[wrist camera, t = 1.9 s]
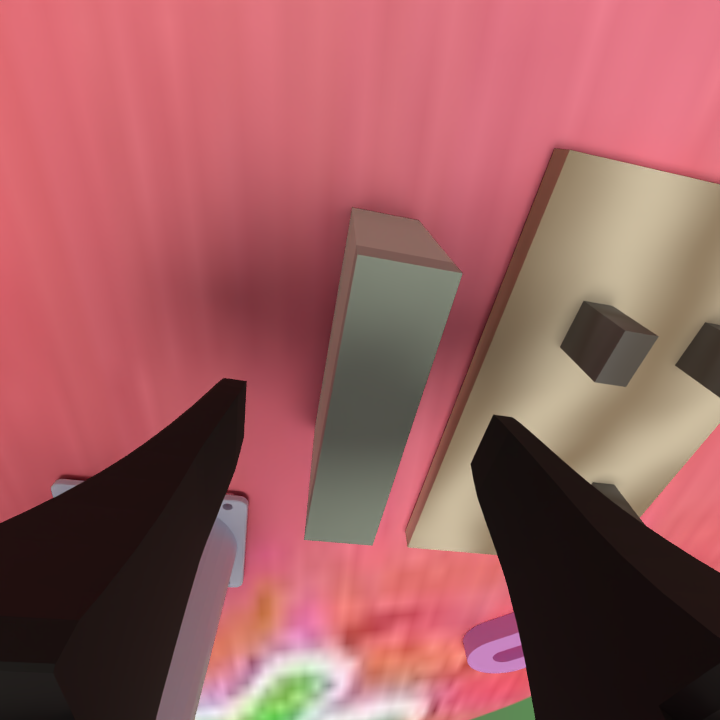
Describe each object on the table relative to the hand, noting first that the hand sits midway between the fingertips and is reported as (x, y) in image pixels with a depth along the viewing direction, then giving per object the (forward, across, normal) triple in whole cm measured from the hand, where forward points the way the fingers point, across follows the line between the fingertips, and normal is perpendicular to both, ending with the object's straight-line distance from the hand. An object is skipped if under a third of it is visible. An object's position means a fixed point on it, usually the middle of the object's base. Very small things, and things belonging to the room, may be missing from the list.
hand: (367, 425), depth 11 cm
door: (+6, 0, 0) cm, 6 cm away
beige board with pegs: (+6, -11, +2) cm, 12 cm away
